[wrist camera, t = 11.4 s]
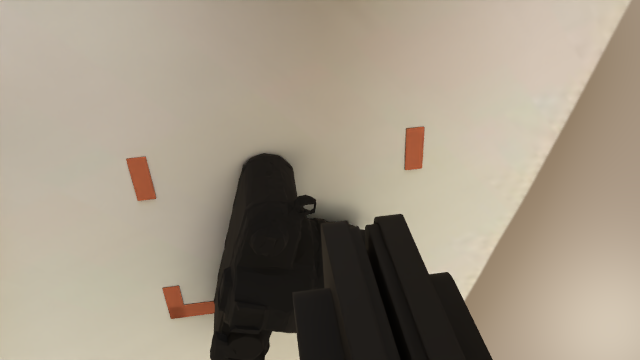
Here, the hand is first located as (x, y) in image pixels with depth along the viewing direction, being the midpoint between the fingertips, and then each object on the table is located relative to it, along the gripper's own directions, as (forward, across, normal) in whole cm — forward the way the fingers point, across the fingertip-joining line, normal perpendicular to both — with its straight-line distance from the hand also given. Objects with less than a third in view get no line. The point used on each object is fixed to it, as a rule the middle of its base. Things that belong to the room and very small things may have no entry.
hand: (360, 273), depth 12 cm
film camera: (+23, +1, +17) cm, 29 cm away
